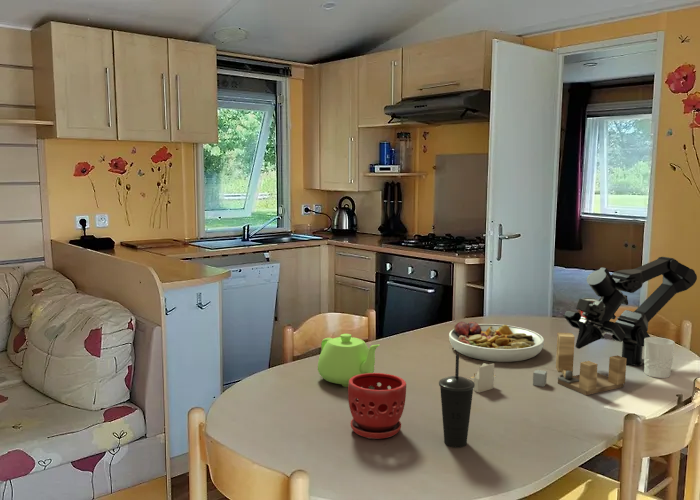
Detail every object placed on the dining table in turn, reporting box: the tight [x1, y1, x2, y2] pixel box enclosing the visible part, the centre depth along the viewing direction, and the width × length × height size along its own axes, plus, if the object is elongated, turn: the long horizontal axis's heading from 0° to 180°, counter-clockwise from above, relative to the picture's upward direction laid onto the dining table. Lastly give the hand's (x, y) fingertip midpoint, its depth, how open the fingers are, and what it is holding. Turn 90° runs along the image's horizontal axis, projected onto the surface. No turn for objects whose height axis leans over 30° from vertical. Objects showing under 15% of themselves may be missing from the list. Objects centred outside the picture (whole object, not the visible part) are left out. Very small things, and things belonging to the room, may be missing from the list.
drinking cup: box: [438, 353, 475, 448], centre depth 136 cm, size 8×8×20 cm
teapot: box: [317, 333, 380, 388], centre depth 175 cm, size 22×15×13 cm
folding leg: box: [555, 332, 576, 380], centre depth 176 cm, size 10×4×10 cm, turn 171°
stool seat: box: [557, 354, 627, 396], centre depth 171 cm, size 14×10×8 cm
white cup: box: [643, 336, 676, 379], centre depth 180 cm, size 8×8×10 cm
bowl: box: [448, 321, 545, 363], centre depth 204 cm, size 30×30×8 cm
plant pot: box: [347, 372, 407, 440], centre depth 142 cm, size 13×13×12 cm
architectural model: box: [469, 362, 497, 393], centre depth 170 cm, size 3×7×7 cm, turn 124°
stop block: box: [532, 369, 548, 388], centre depth 173 cm, size 3×3×4 cm
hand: (577, 347), depth 181 cm, fingers closed
